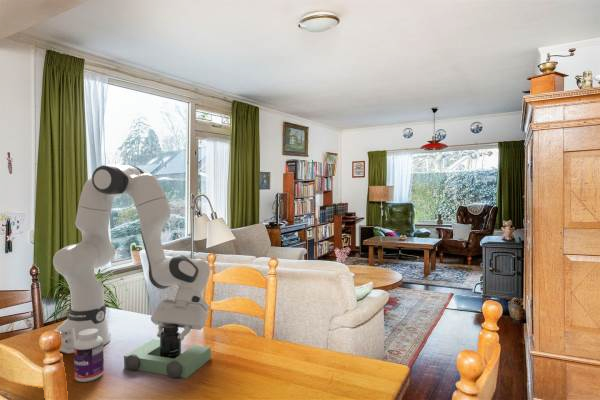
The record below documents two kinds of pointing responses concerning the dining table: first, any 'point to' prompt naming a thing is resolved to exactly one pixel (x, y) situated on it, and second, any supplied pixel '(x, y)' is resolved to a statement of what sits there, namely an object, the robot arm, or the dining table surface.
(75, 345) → the pill bottle
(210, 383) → the dining table surface
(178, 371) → the green u-shaped block
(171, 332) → the supplement bottle
